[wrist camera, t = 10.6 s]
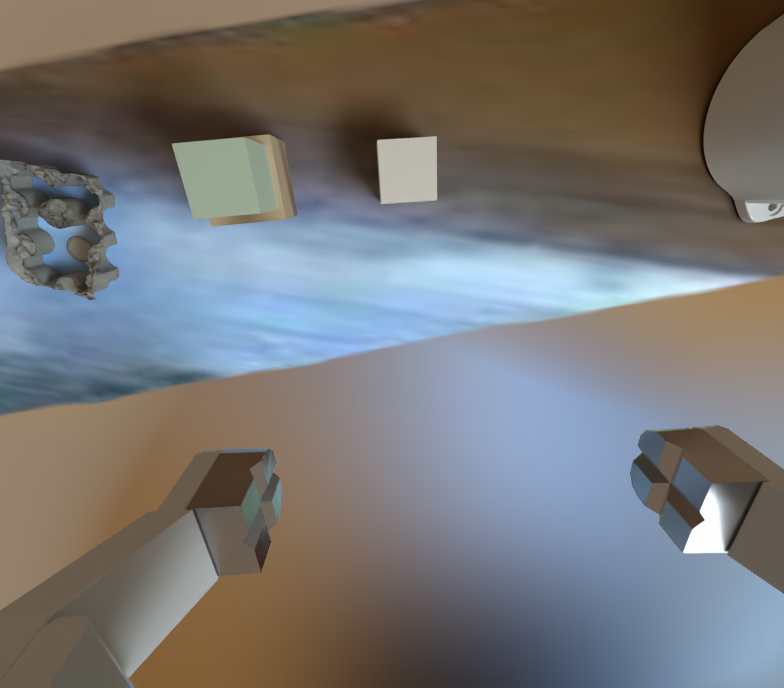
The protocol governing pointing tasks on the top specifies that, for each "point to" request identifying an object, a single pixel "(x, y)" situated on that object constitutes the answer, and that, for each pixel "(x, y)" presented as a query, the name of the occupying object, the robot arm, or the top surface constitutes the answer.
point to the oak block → (279, 181)
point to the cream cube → (407, 169)
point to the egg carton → (58, 212)
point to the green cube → (226, 177)
